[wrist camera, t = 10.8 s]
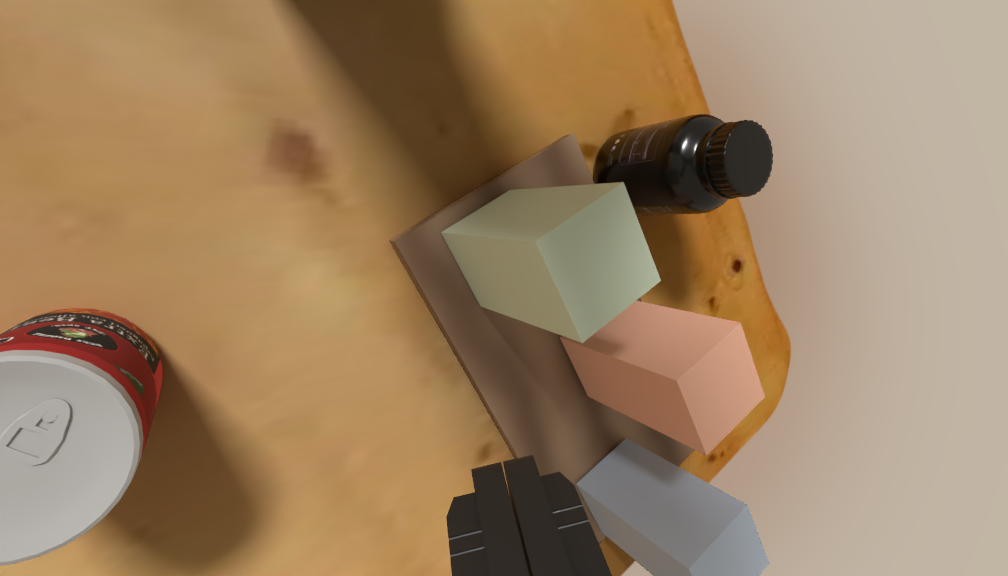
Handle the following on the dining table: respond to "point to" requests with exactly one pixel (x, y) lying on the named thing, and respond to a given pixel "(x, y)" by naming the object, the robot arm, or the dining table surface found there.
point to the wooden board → (522, 342)
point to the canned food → (70, 424)
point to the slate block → (671, 517)
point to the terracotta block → (671, 372)
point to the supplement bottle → (686, 164)
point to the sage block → (556, 256)
